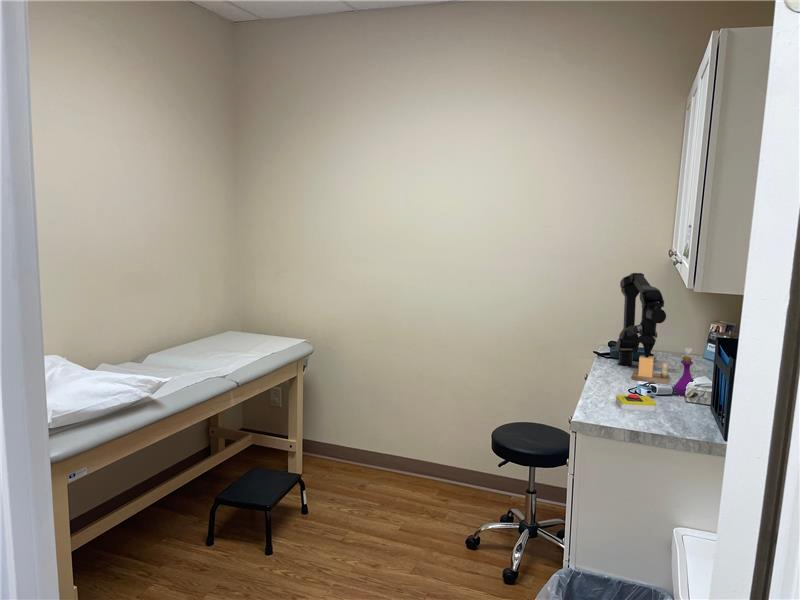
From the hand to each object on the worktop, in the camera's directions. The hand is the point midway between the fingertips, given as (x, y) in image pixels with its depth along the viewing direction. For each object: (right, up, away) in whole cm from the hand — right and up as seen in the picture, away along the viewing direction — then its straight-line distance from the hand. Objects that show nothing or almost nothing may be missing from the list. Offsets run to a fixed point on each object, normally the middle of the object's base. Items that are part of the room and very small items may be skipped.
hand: (646, 357), depth 236 cm
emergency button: (-20, -14, -38) cm, 45 cm away
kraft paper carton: (0, -8, +1) cm, 8 cm away
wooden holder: (+2, -9, 0) cm, 9 cm away
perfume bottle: (+4, -12, -23) cm, 27 cm away
